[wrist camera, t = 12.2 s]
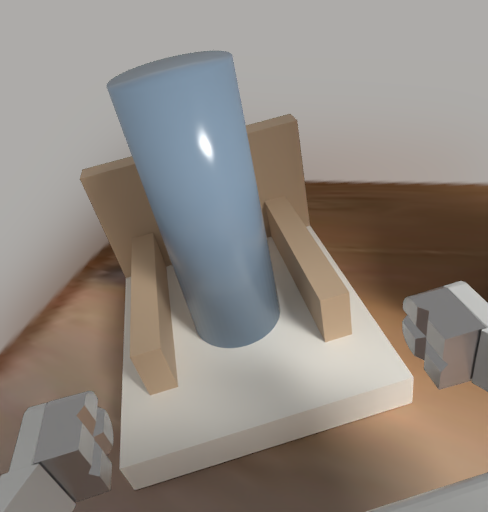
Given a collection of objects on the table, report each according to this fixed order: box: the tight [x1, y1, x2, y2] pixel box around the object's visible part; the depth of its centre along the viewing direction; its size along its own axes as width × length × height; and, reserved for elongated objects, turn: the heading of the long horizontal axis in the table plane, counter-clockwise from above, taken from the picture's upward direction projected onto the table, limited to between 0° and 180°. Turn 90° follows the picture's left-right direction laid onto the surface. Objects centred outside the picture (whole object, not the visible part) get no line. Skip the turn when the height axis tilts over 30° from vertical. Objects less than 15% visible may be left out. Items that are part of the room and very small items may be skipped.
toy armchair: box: [80, 114, 414, 490], centre depth 24 cm, size 14×16×10 cm
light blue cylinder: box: [107, 51, 280, 348], centre depth 21 cm, size 5×5×14 cm
